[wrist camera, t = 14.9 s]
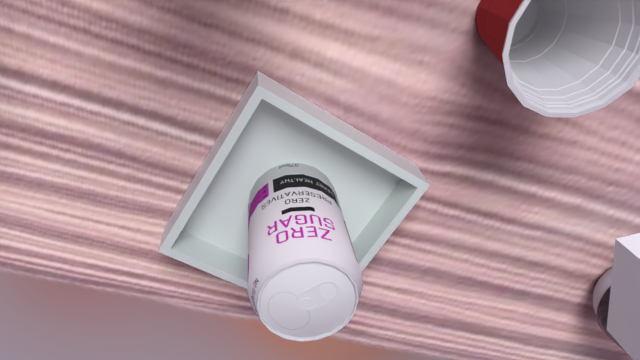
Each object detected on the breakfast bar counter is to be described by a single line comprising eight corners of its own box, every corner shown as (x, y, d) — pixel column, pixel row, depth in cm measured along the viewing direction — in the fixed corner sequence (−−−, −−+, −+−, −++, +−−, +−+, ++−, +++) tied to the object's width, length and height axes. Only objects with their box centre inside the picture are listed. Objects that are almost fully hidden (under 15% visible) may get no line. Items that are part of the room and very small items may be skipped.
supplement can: (278, 249, 50) (288, 364, 37) (231, 187, 46) (223, 290, 33) (349, 209, 49) (386, 313, 36) (307, 143, 45) (330, 232, 32)
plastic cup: (419, 32, 43) (474, 65, 33) (506, -83, 40) (598, -88, 29) (504, 99, 47) (578, 149, 36) (590, 0, 44) (698, 22, 33)
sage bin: (165, 225, 48) (157, 251, 44) (257, 70, 43) (258, 84, 39) (317, 292, 54) (322, 321, 50) (415, 164, 49) (430, 184, 45)
